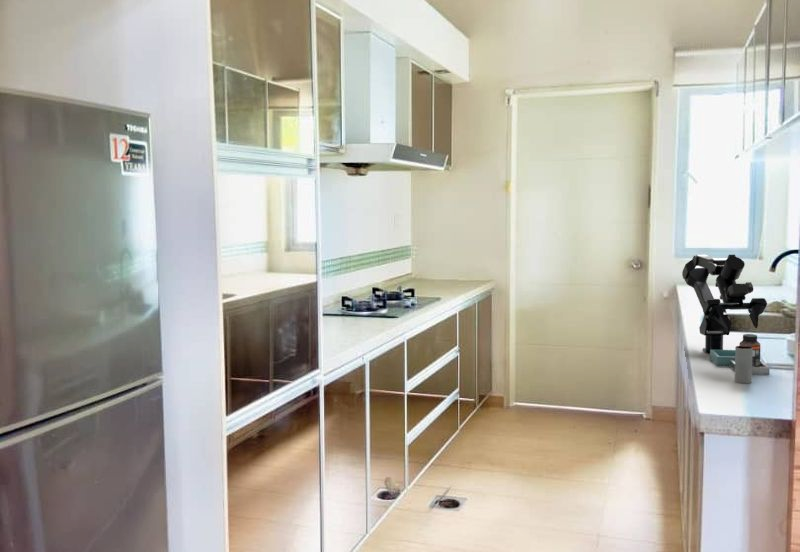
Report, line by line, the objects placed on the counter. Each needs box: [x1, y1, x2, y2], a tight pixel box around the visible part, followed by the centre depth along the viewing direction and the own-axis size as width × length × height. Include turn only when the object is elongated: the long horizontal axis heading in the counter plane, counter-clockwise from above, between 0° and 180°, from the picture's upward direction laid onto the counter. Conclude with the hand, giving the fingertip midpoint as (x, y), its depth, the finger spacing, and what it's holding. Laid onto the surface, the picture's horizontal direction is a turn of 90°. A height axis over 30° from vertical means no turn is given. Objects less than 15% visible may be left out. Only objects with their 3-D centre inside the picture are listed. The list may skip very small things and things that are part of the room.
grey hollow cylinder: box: [734, 345, 753, 384], centre depth 218 cm, size 4×4×10 cm
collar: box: [729, 360, 771, 375], centre depth 231 cm, size 9×9×2 cm
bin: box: [709, 349, 735, 367], centre depth 243 cm, size 12×12×3 cm
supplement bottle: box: [738, 333, 761, 367], centre depth 231 cm, size 6×6×11 cm
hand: (741, 327), depth 236 cm, fingers open, 9 cm apart
